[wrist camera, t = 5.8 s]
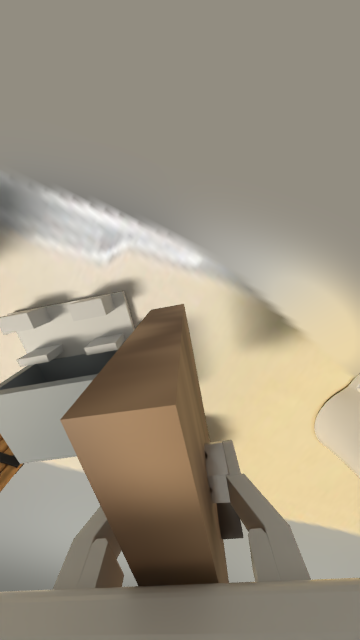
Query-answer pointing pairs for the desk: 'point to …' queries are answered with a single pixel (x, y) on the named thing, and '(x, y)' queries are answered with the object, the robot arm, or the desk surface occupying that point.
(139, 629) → the robot arm
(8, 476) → the ammunition clip
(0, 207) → the desk surface
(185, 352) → the door
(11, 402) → the cabinet
